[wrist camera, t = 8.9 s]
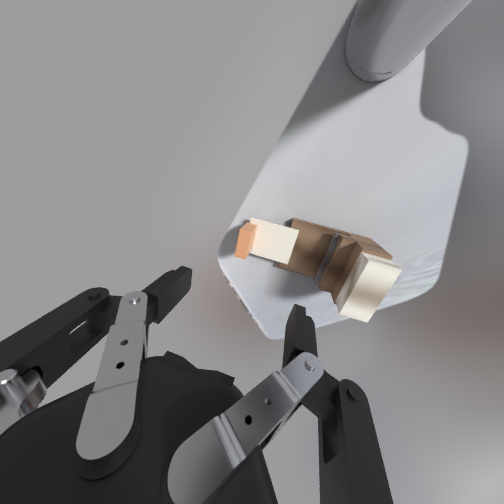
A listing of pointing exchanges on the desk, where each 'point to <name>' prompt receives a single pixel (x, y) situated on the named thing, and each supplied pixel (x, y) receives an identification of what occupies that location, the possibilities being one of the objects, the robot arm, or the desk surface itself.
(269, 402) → the robot arm
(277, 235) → the plank with orange cube
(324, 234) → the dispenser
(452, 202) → the desk surface
